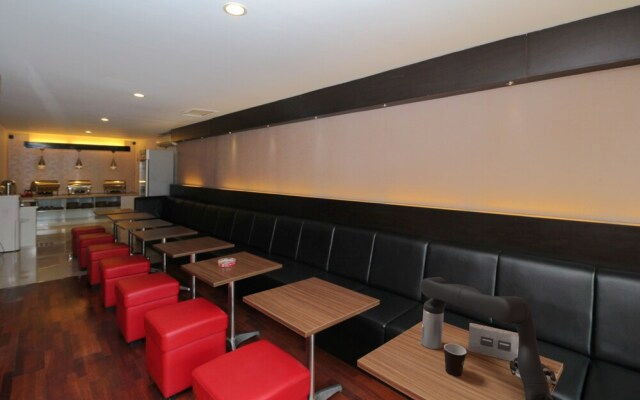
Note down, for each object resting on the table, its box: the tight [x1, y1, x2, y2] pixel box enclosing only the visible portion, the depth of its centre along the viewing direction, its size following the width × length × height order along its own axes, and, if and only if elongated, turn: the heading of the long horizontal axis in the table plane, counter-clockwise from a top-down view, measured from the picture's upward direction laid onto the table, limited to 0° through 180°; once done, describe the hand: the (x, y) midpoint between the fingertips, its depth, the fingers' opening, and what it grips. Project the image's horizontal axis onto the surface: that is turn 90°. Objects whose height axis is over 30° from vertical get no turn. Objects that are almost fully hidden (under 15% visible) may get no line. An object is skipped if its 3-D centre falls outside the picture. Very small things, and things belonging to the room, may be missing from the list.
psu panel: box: [467, 322, 519, 362], centre depth 142 cm, size 22×4×12 cm, turn 63°
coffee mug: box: [443, 343, 467, 378], centre depth 130 cm, size 12×9×10 cm
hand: (529, 362), depth 124 cm, fingers open, 8 cm apart
